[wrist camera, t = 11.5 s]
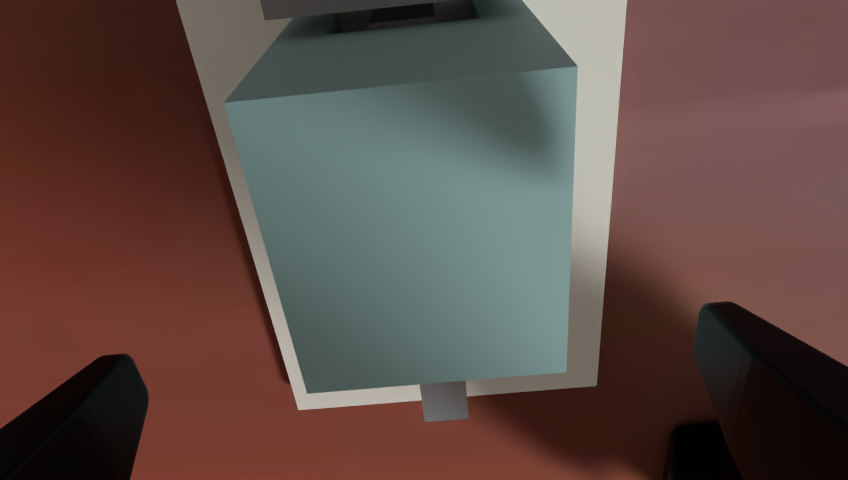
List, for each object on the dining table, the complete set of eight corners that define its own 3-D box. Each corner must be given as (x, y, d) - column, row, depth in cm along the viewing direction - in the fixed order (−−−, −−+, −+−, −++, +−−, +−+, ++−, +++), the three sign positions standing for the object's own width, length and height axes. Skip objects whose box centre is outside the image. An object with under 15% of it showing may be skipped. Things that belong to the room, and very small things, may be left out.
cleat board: (590, 368, 24) (618, 448, 21) (302, 391, 25) (285, 473, 22) (626, -154, 15) (689, -162, 12) (160, -101, 15) (89, -93, 12)
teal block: (519, 219, 20) (566, 372, 14) (338, 236, 20) (306, 394, 14) (515, -8, 16) (577, 66, 10) (293, 17, 16) (223, 103, 10)
